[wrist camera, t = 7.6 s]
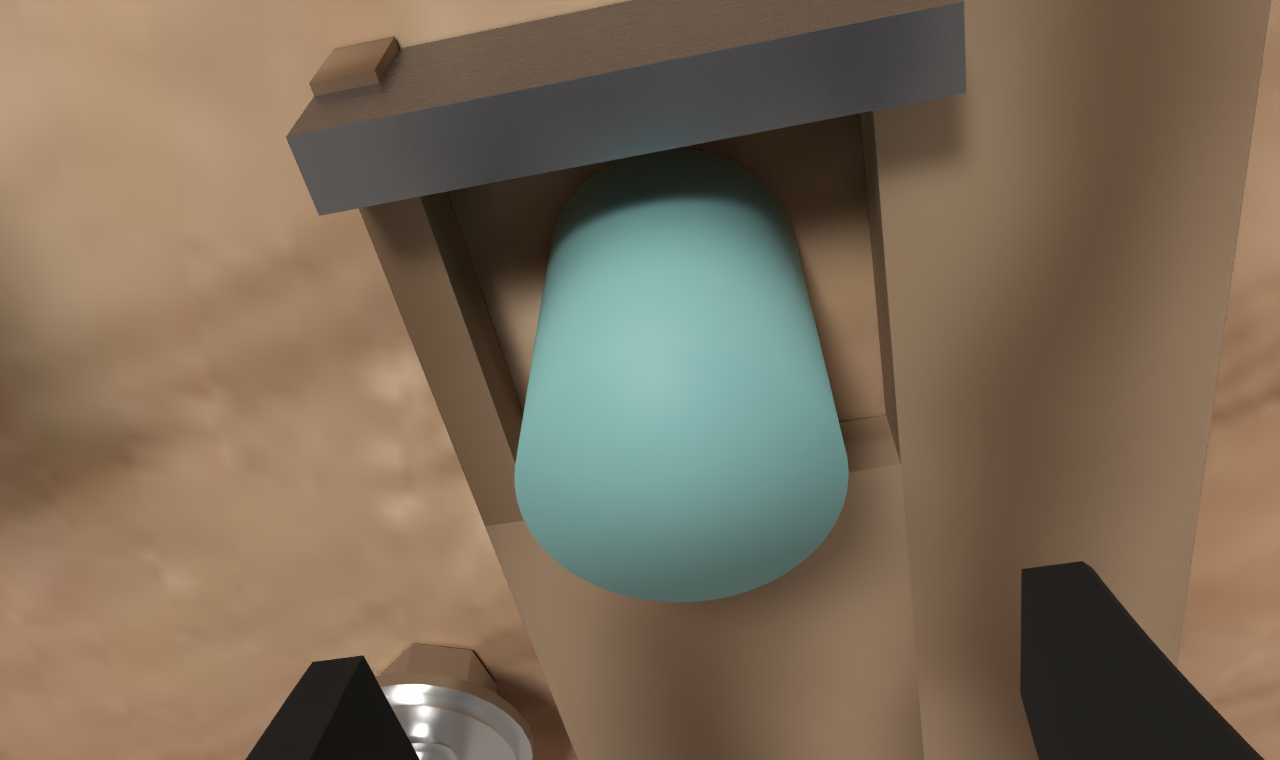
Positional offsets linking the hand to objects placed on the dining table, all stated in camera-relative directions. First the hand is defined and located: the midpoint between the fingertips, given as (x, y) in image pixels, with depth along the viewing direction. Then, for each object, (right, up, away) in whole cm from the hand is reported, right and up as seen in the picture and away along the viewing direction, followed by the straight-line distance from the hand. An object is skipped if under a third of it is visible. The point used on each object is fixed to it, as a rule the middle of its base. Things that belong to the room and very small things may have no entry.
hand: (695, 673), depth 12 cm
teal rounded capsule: (0, +5, +7) cm, 9 cm away
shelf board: (+3, +2, +10) cm, 10 cm away
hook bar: (-1, +9, +5) cm, 10 cm away
